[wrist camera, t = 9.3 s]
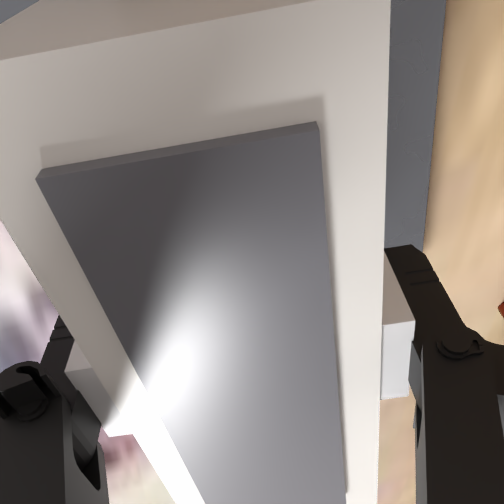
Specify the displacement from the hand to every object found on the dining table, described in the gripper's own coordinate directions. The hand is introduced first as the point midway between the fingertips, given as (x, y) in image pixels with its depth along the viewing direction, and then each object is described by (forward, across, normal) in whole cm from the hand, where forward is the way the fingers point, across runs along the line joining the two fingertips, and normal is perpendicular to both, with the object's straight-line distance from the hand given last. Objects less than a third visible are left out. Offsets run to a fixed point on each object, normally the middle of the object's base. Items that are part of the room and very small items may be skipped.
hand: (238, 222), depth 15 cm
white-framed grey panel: (+3, 0, 0) cm, 3 cm away
